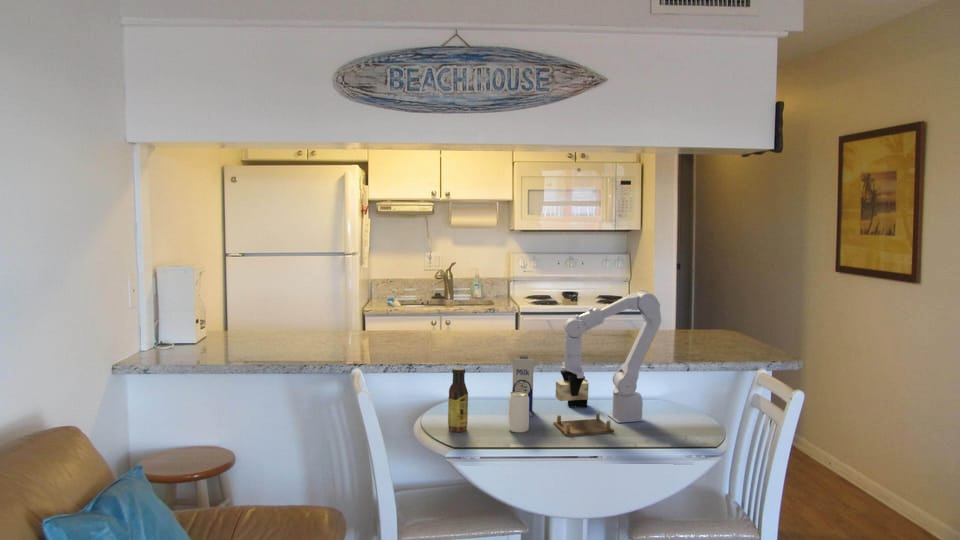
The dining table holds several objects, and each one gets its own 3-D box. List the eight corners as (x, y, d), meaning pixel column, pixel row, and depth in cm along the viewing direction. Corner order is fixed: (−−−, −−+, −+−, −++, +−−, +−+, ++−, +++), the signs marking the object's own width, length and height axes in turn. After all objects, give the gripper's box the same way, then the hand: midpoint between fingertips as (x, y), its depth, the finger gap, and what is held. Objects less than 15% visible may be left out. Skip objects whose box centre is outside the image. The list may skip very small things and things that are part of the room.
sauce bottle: (463, 434, 194) (463, 372, 192) (444, 431, 196) (445, 370, 194) (470, 427, 200) (471, 367, 198) (452, 424, 202) (453, 365, 200)
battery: (587, 408, 221) (588, 380, 220) (568, 407, 222) (568, 379, 221) (586, 404, 225) (587, 377, 224) (567, 403, 226) (568, 376, 225)
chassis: (599, 420, 208) (599, 411, 207) (614, 432, 197) (614, 422, 197) (553, 424, 204) (553, 414, 204) (565, 436, 193) (565, 426, 193)
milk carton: (511, 415, 211) (512, 358, 209) (512, 409, 218) (513, 353, 216) (532, 416, 211) (533, 359, 209) (532, 410, 217) (534, 354, 215)
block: (582, 395, 213) (583, 379, 213) (588, 399, 209) (588, 383, 208) (555, 397, 211) (555, 381, 210) (560, 401, 207) (560, 385, 206)
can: (514, 434, 194) (515, 397, 193) (504, 428, 200) (505, 391, 199) (532, 431, 197) (533, 394, 196) (521, 425, 203) (522, 389, 202)
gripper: (554, 349, 214) (553, 387, 216) (569, 359, 200) (568, 400, 202) (573, 348, 216) (572, 386, 218) (590, 358, 202) (588, 399, 203)
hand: (571, 393), depth 210 cm, fingers closed on block, 4 cm apart
